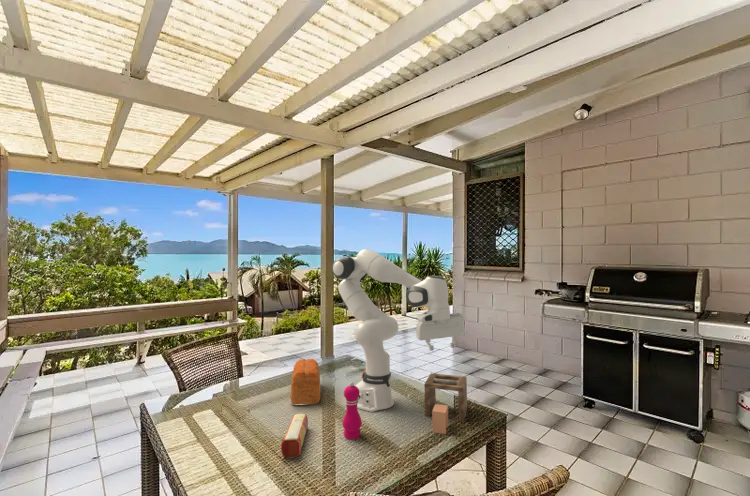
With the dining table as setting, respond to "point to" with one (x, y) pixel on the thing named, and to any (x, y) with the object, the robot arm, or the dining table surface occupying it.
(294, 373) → the bread
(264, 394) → the dining table surface
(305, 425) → the snack package
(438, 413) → the tall peach block
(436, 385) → the stand
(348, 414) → the pepper mill
